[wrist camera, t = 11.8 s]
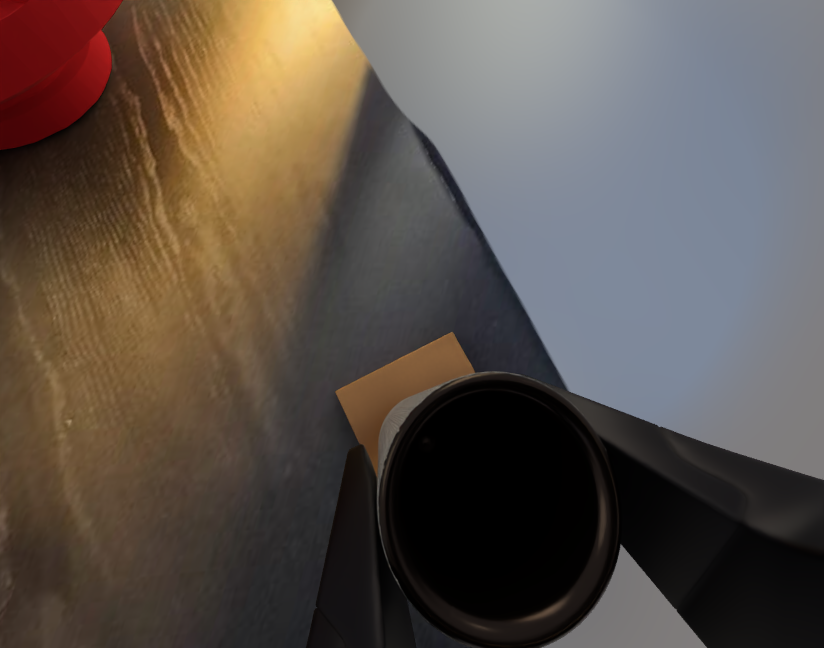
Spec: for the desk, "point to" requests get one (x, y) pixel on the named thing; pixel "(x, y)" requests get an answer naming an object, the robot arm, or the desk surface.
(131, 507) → the desk surface
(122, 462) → the desk surface
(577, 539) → the grey cylindrical cup
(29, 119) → the bowl
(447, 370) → the board
